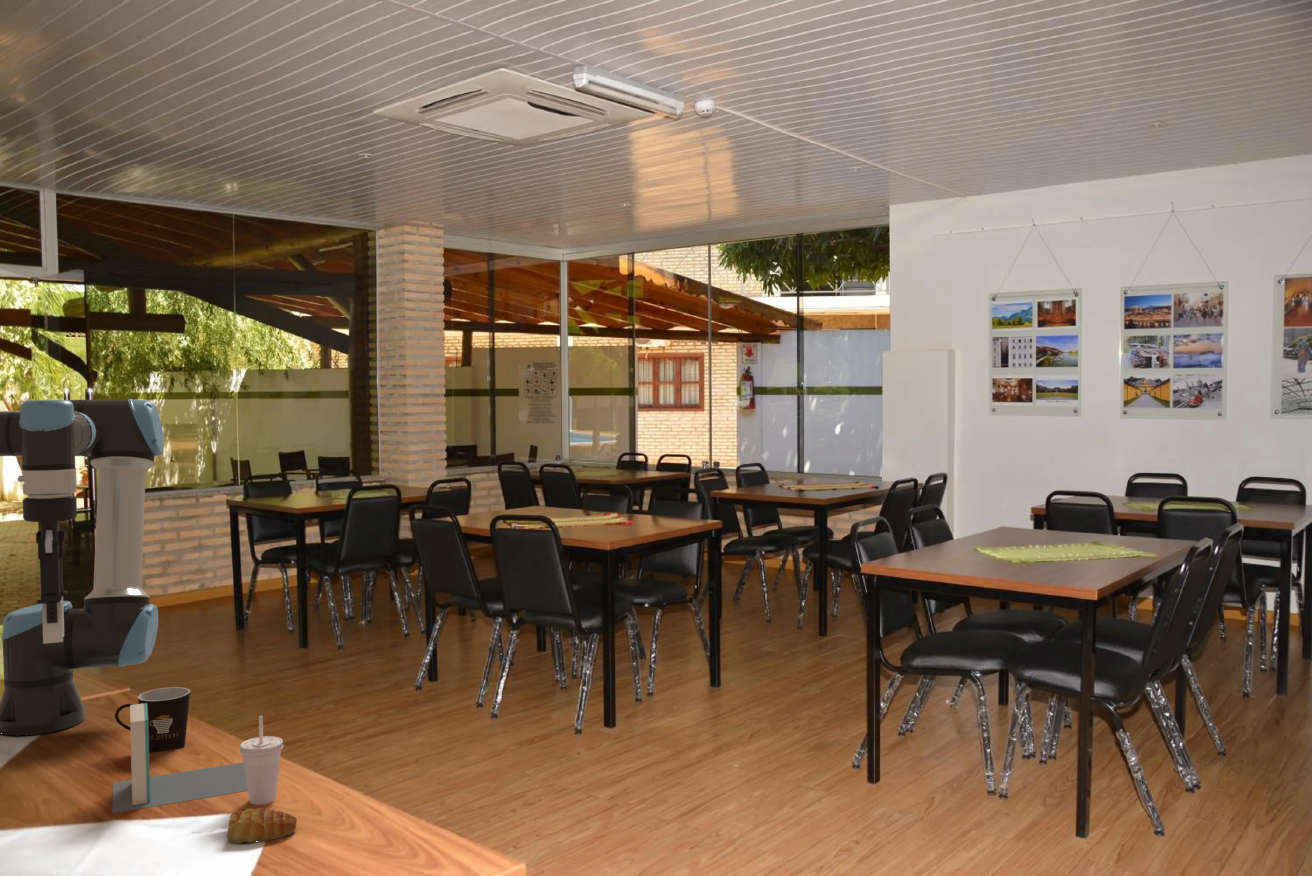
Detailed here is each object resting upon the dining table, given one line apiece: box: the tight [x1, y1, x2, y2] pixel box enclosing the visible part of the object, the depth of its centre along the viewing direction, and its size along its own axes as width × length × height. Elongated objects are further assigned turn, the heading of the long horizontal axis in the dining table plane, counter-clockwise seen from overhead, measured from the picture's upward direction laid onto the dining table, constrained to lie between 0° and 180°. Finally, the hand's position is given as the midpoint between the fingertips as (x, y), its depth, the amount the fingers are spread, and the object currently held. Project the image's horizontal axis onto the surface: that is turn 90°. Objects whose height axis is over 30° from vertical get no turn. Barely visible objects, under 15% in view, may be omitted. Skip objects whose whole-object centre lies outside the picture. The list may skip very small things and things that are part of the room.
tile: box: [129, 703, 151, 805], centre depth 166 cm, size 10×2×13 cm, turn 27°
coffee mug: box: [114, 686, 191, 754], centre depth 188 cm, size 12×9×10 cm
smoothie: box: [239, 715, 284, 806], centre depth 163 cm, size 6×6×14 cm
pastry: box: [225, 807, 298, 844], centre depth 152 cm, size 9×7×4 cm
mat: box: [111, 762, 248, 814], centre depth 169 cm, size 14×20×1 cm
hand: (53, 639), depth 168 cm, fingers open, 3 cm apart
